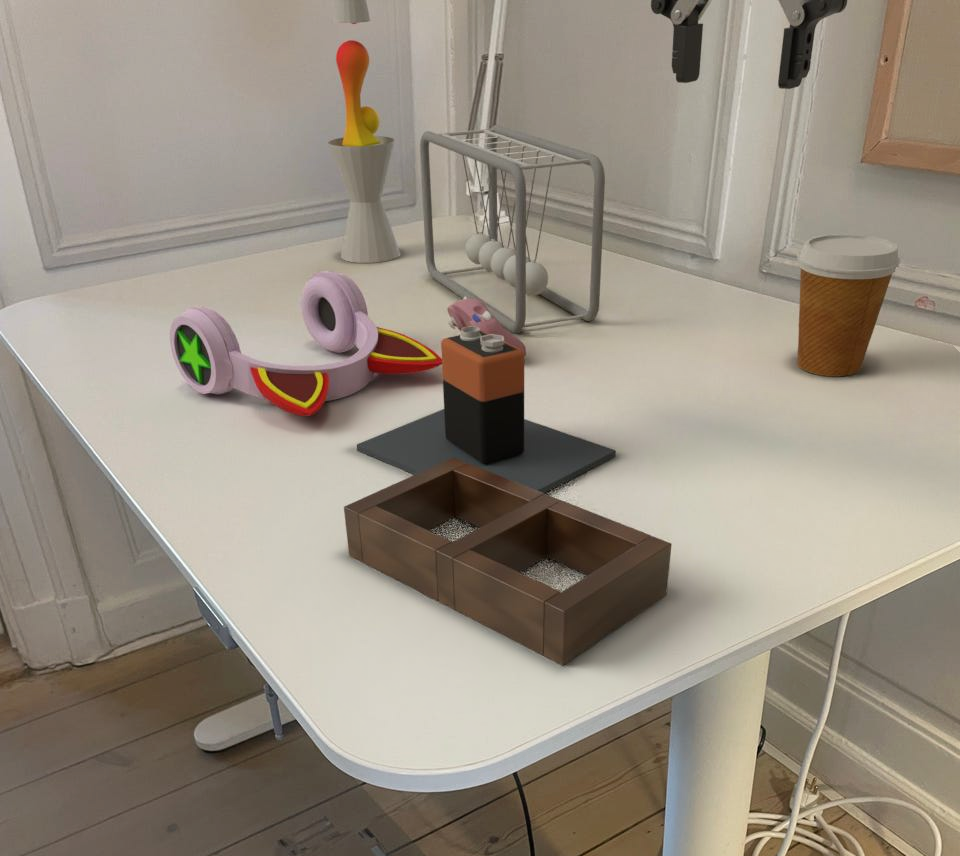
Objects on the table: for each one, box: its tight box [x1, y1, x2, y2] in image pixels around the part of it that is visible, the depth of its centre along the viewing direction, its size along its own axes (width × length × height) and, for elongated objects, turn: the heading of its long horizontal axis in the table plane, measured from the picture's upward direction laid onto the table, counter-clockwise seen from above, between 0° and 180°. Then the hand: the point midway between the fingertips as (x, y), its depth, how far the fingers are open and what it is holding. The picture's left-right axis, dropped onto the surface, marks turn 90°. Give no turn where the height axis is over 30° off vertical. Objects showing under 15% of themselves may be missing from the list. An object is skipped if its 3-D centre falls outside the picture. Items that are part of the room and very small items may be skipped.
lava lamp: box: [327, 0, 401, 264], centre depth 135 cm, size 9×9×35 cm
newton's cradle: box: [419, 124, 606, 334], centre depth 120 cm, size 30×10×18 cm, turn 23°
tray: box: [343, 458, 673, 666], centre depth 69 cm, size 20×11×4 cm, turn 46°
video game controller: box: [446, 296, 527, 359], centre depth 107 cm, size 10×5×7 cm, turn 23°
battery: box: [440, 326, 525, 464], centre depth 84 cm, size 4×7×10 cm, turn 31°
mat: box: [356, 408, 617, 494], centre depth 87 cm, size 18×14×1 cm
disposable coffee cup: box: [796, 233, 901, 377], centre depth 100 cm, size 10×10×12 cm
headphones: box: [169, 270, 442, 417], centre depth 100 cm, size 20×10×20 cm
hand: (736, 84), depth 74 cm, fingers open, 8 cm apart
